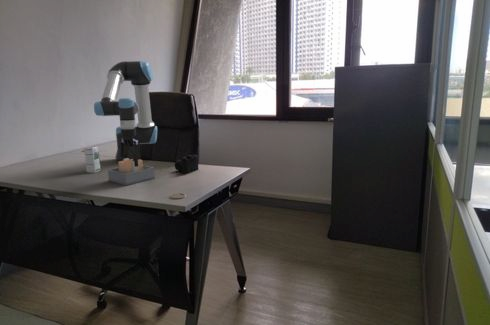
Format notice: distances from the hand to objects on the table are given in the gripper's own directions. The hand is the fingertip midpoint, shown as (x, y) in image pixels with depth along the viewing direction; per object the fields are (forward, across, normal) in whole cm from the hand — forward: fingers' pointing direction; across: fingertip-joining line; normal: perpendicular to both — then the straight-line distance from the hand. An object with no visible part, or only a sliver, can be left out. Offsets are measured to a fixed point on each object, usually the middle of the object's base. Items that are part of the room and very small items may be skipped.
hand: (131, 171), depth 192 cm
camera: (+5, +10, +30) cm, 32 cm away
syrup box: (+5, -34, -2) cm, 34 cm away
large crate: (+5, 0, 0) cm, 5 cm away
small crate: (0, 0, 0) cm, 0 cm away
